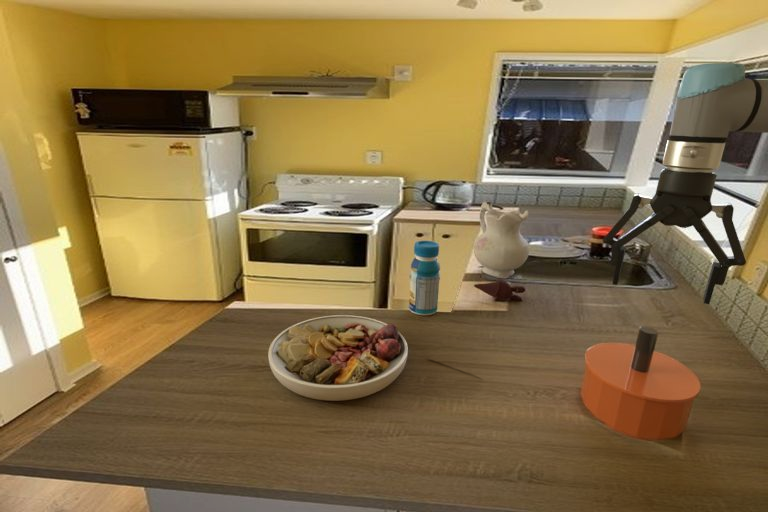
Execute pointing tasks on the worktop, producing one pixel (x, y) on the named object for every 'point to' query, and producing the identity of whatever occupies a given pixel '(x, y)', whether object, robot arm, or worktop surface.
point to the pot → (633, 411)
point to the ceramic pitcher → (501, 242)
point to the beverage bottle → (424, 278)
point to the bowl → (338, 357)
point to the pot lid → (642, 370)
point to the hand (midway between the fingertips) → (658, 291)
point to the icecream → (501, 290)
